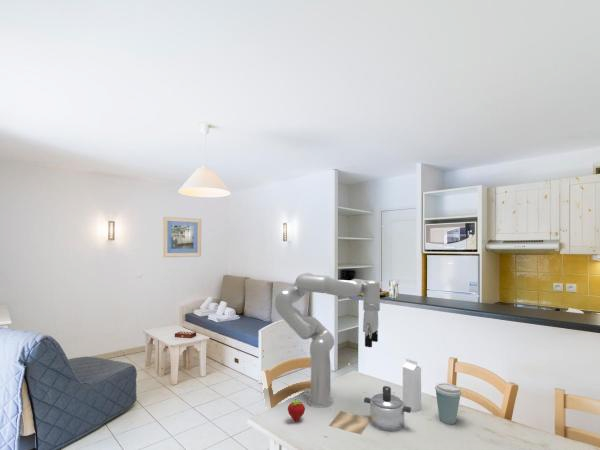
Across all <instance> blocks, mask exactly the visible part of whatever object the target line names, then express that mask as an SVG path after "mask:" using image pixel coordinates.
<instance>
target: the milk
mask: <svg viewBox="0 0 600 450" xmlns="http://www.w3.org/2000/svg"><path fill="white" fill-rule="evenodd" d="M402 402H403V403H404V406H406V407H411V413H415V412H418V411H419V410H421V409H422V368H421V366H419V365H418V361H415V360H413V359H409V358H406V360H405V363H404V364H403V366H402Z"/></svg>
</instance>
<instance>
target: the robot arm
mask: <svg viewBox="0 0 600 450" xmlns="http://www.w3.org/2000/svg"><path fill="white" fill-rule="evenodd" d="M380 287H381V286H380V282H379V281H378V280H375V279H367V280H365V279H359V278H353V279H351V280H347V279H346V280H345V279H336V278H332V277H330V276H328V275H321V274H319V275H318V274H312V273H310V272H305V273H302V274H299V275H298V276H296V278H295V281H294V283H292V284H291V285H290V286H289V287H284V288H282V289H280V290H279V291H278V293H277V294H276V296H275V298H274V307H275V310H276V312H277V314H278V315H279V316H280V317H281V318H282V319H283V320H284V322H286V324H287V325H289V327H290V328H291V329H292V330H293V331H294V333H296V334H297V336H298V337H299V338H300V339H302V340H308V339H311V343H310V345H309V354H310V390H309V389H306V388H305V389H304V391H303V396H306V397H308V398H307V405H309V406H310V407H314V408H318V409H319V408H320V409H322V408H323V409H325V408H329V407H331V406H333V405H334V399H333V398H332V397H331V357H330V355H331V353H330V352H331V350H332V349H333V348H334V345H335V339H334V335H333V334H332V333H331V332H330V331H329V330H328V329H327V328H326V327H325V326H324V325H323V324H322V322H320V321H319V320H318V319H317V318H316V317H314V316H305V315H304V314H303V313H302V312H301V311H300V310H299V309H298V308H296V307H295V306H294V305H293V304H294V303H297V302H298V301H299V300H300V299H302V297H304V296H305V295H306V294H308V293H310V292H311V293H317V294H318V293H319V294H320V293H321V294H327V295H330V296H331V295H333V296H336V297H337V296H338V297H345V298H356V297H358V296H359V295H362V296H363V297H362V300H363V303H362V305H363V308H362V310H363V319H362V320H363V321H362V322H363V324H362V331H363V333H364V347H366V348H373V342H374V343H378V341H379V339H378V337H379V331H378V330H379V312H380V307H381V303H380V301H381V299H380V297H381V296H380V294H381V292H380V291H381V290H380Z"/></svg>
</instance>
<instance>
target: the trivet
mask: <svg viewBox="0 0 600 450" xmlns="http://www.w3.org/2000/svg"><path fill="white" fill-rule="evenodd" d="M369 422H370V417H366V416H362V415H359V414H355V413H351V412H348V411H347V412H346V411H342V410H340V411H339V413H337V415H336V416H335V417H334V419H333V420H332V421H331V422H330V423H329V425H328V426H329V427H333V428H337V429H340V430H344V431H348V432H351V433H354V434H357V435H358V434H359V435H362V434H363V432H364V431H365V429H366V428H367V426H368V424H369Z"/></svg>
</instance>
